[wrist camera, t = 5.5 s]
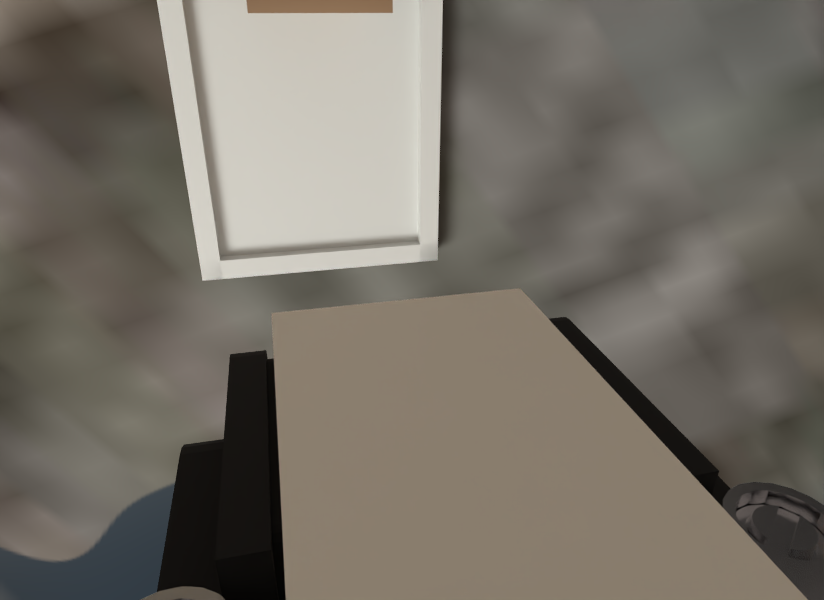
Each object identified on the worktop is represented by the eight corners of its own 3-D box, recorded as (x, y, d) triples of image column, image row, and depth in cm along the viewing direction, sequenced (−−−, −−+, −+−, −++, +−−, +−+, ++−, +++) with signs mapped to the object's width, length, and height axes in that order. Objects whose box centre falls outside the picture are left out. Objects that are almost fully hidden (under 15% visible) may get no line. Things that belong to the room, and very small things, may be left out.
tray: (128, -203, 19) (122, -213, 18) (438, -182, 21) (446, -190, 20) (204, 271, 26) (202, 280, 25) (431, 252, 28) (437, 260, 27)
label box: (271, 313, 9) (294, 760, 4) (520, 287, 10) (834, 627, 5) (293, 510, 11) (330, 1011, 6) (503, 475, 12) (716, 882, 6)
